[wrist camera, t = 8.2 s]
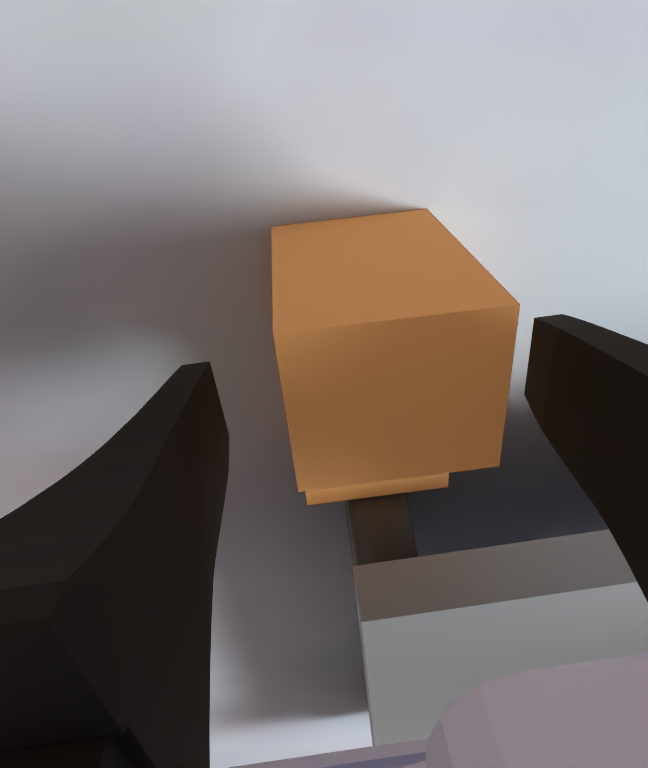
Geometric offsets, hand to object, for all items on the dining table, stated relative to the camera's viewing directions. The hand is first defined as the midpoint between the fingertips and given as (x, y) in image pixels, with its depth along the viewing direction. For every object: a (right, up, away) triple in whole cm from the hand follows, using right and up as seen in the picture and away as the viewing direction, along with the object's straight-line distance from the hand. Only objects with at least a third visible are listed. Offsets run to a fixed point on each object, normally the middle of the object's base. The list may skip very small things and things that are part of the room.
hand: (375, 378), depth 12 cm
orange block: (0, +1, +4) cm, 4 cm away
